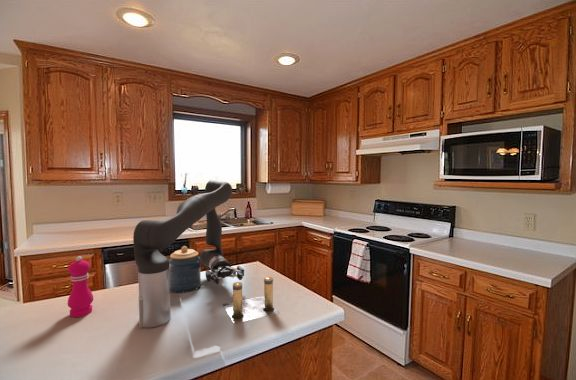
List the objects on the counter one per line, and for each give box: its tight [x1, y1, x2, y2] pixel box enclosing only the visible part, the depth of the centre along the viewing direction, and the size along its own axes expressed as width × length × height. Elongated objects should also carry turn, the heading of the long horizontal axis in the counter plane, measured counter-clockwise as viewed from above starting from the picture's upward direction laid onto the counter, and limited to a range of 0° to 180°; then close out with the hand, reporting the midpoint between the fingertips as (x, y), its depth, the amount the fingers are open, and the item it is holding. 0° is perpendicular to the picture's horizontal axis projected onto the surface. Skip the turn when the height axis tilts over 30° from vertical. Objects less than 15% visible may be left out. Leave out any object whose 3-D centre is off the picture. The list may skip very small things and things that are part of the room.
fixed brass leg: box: [263, 276, 274, 311], centre depth 98 cm, size 3×3×11 cm
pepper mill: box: [67, 255, 94, 318], centre depth 97 cm, size 7×7×20 cm
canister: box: [169, 245, 202, 294], centre depth 120 cm, size 13×13×18 cm
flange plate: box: [222, 295, 281, 325], centre depth 99 cm, size 16×15×1 cm
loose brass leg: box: [232, 281, 243, 319], centre depth 93 cm, size 3×3×11 cm
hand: (229, 279), depth 103 cm, fingers open, 8 cm apart
